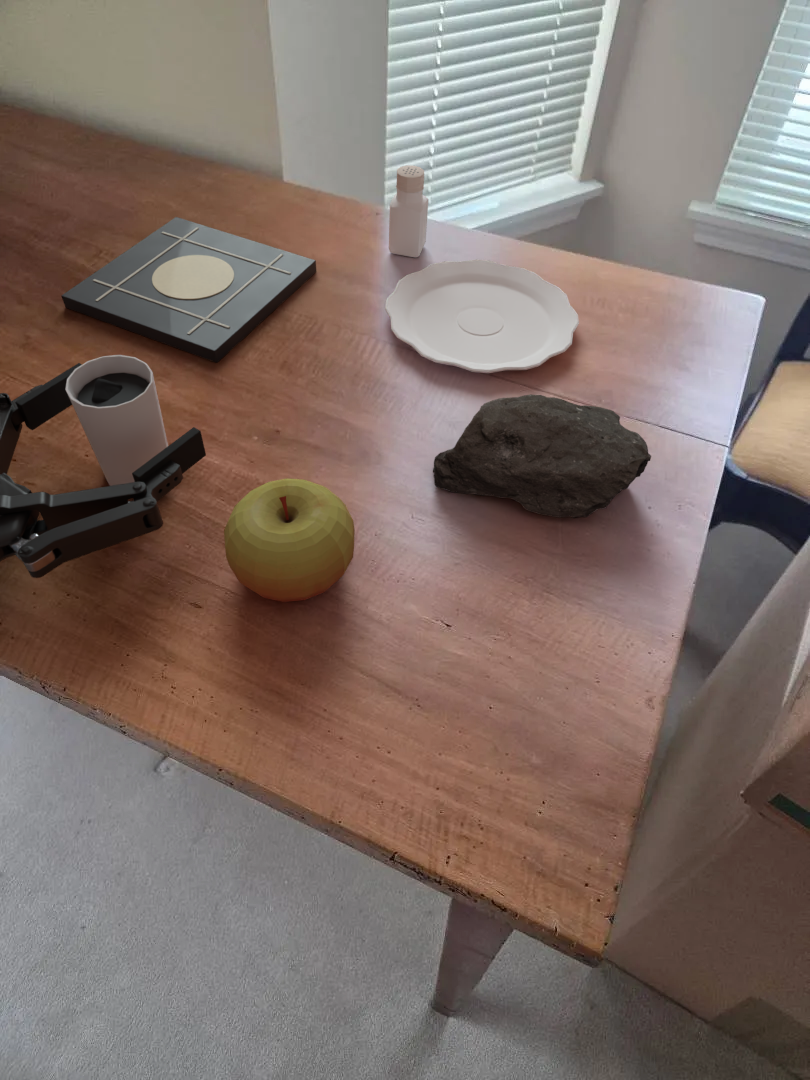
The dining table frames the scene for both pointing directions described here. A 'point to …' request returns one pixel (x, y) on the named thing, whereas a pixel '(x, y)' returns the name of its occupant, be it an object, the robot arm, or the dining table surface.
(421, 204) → the salt shaker
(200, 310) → the board
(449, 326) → the plate
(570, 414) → the stone
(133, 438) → the white cup
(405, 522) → the dining table surface
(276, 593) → the apple
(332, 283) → the dining table surface
